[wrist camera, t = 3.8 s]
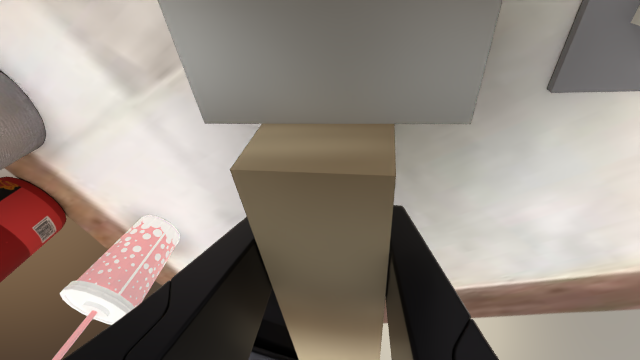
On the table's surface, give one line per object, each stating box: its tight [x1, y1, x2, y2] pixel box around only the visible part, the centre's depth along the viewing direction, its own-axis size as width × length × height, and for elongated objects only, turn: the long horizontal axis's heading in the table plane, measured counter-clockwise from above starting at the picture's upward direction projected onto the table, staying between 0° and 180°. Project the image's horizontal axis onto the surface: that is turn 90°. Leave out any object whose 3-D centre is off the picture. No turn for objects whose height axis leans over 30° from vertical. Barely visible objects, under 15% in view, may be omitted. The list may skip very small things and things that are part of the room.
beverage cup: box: [52, 215, 180, 360], centre depth 26 cm, size 6×6×14 cm
